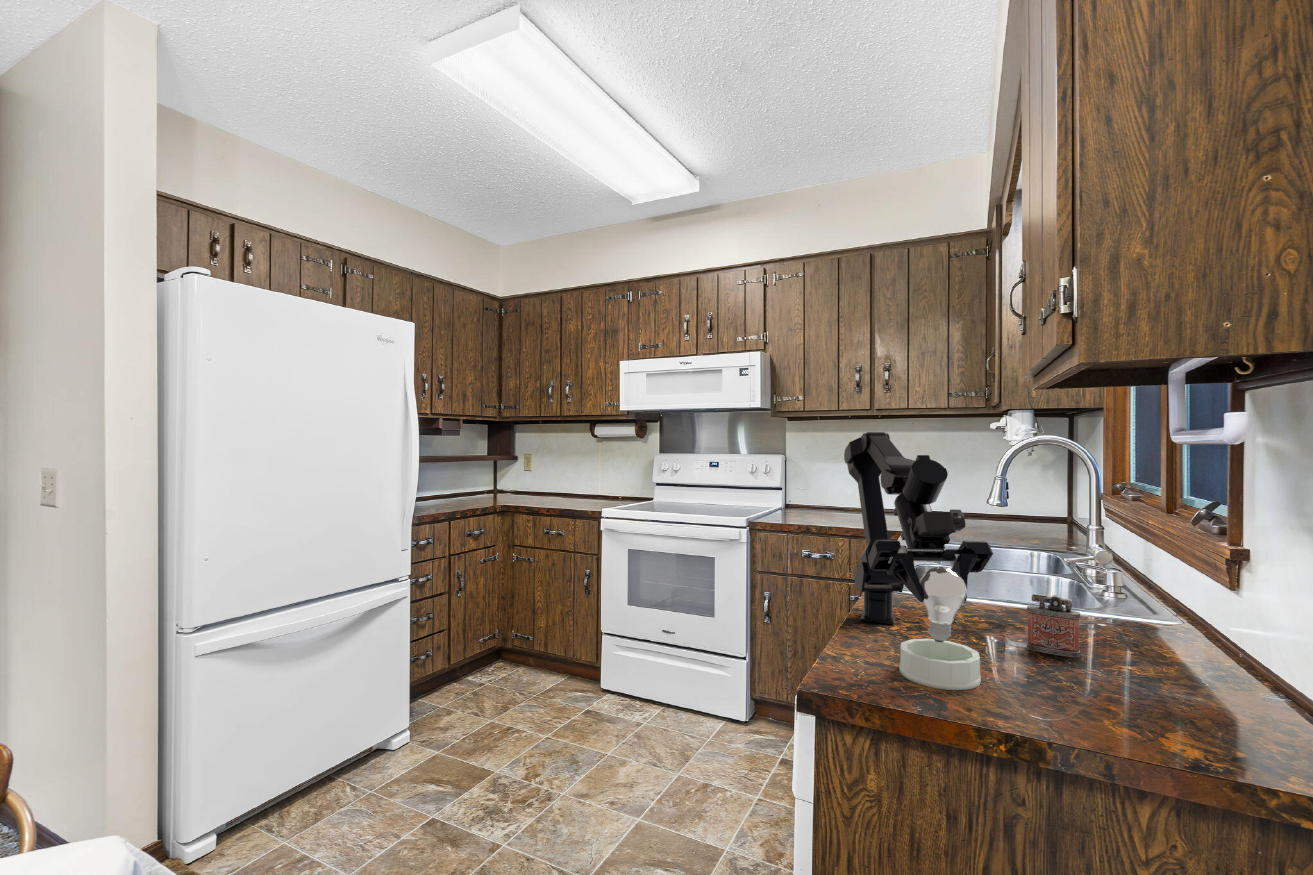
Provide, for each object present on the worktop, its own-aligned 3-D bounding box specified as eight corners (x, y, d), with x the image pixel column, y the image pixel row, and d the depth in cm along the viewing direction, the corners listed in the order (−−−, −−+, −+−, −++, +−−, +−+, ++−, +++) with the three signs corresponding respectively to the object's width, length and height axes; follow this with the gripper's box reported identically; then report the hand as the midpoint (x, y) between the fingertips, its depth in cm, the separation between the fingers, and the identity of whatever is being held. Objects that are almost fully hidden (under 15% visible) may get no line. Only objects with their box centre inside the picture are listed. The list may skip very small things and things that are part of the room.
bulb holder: (900, 658, 108) (900, 634, 108) (977, 668, 103) (977, 644, 103) (898, 682, 97) (898, 656, 97) (983, 695, 93) (984, 668, 93)
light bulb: (956, 652, 96) (961, 574, 95) (909, 640, 100) (914, 565, 100) (967, 642, 101) (972, 567, 101) (922, 631, 105) (927, 560, 105)
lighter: (1080, 653, 111) (1080, 596, 111) (1080, 658, 109) (1080, 600, 109) (1027, 644, 116) (1027, 590, 116) (1026, 649, 113) (1026, 594, 113)
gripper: (874, 491, 104) (896, 572, 94) (988, 492, 104) (1024, 574, 93) (859, 531, 112) (879, 610, 102) (965, 532, 112) (996, 612, 101)
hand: (943, 601), depth 99 cm, fingers closed on light bulb, 6 cm apart
